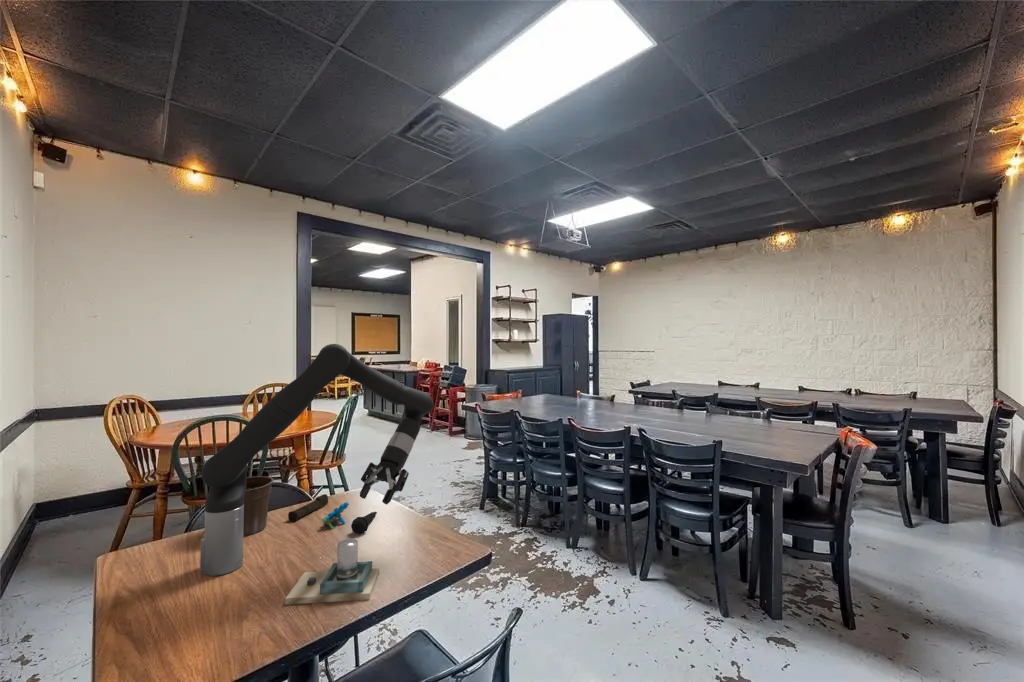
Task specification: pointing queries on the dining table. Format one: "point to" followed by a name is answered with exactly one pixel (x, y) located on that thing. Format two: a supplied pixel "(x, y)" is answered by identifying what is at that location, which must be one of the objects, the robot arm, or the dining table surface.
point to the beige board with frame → (334, 586)
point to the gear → (335, 515)
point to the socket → (347, 560)
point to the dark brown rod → (308, 508)
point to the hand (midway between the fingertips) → (373, 500)
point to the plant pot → (256, 504)
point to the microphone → (362, 523)
